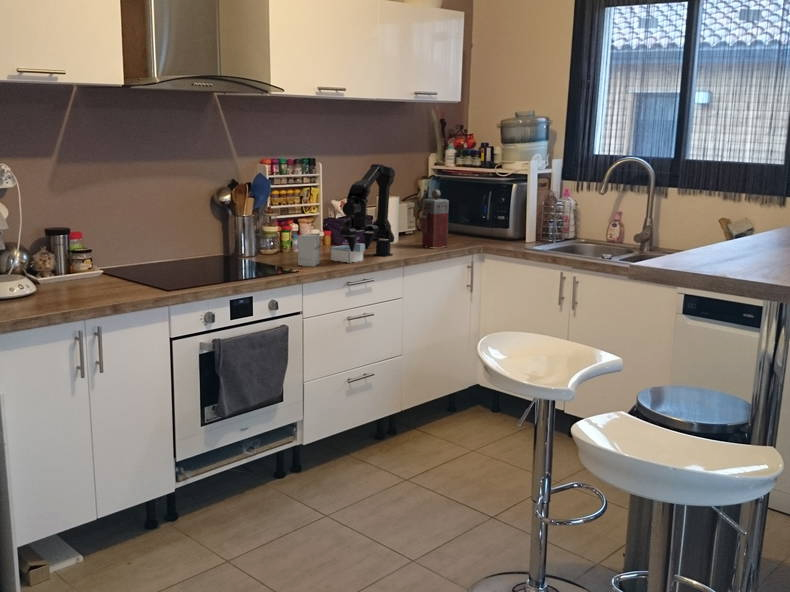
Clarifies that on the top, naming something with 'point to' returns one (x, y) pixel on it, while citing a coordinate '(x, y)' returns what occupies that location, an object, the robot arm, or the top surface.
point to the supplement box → (308, 249)
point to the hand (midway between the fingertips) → (359, 250)
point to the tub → (346, 256)
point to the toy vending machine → (435, 221)
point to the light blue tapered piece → (358, 247)
